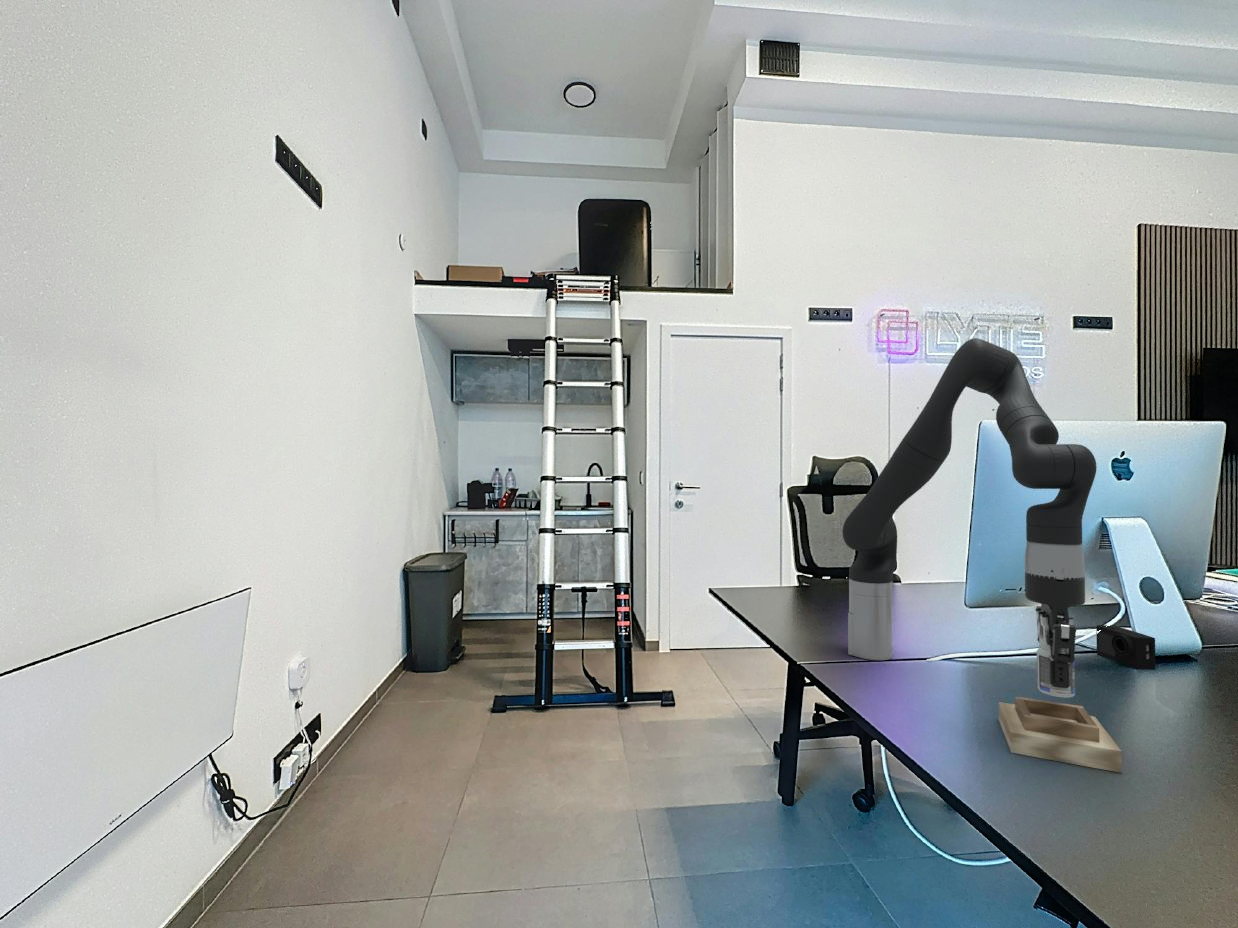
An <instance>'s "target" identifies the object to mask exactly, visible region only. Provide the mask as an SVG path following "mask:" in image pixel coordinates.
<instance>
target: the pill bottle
mask: <svg viewBox="0 0 1238 928" xmlns="http://www.w3.org/2000/svg"><path fill="white" fill-rule="evenodd" d="M1050 639H1051V640H1053V639H1052V638H1050ZM1038 643H1039V648H1037V650H1036V685H1037V690H1038V691H1039V692H1041V693H1043V694H1045V695H1047V696H1051V697H1058V698H1065V699H1066V698H1073V697H1075V695H1076V683H1075V682H1076V678H1075V675H1076V673H1075V671H1076V670H1075V662H1074V663H1071V664H1069V687H1068V688H1059V687H1054V686H1052V685H1051V683H1050V659H1049V647H1048V646H1047V645H1045V643H1044V636H1040V637H1039V642H1038ZM1040 646H1041V648H1040ZM1058 653H1063V654H1065V652H1064V648H1059V649H1058Z"/></svg>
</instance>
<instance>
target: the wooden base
mask: <svg viewBox="0 0 1238 928" xmlns="http://www.w3.org/2000/svg"><path fill="white" fill-rule="evenodd" d="M998 721H999V722H998V723H999V724H1000V727H1001V730H1002V732H1003V734H1004V737H1005V740H1006V742H1007V745H1008V747H1009V751H1010V753H1011V754H1017V755H1023V756H1028V757H1033V758H1039V759H1044V760H1050V761H1056V762H1062V763H1066V764H1071V765H1078V766H1082V767H1088V768H1094V769H1100V770H1103V771H1104V770H1105V771H1108V772H1109V771H1111V772H1115V773H1120V774H1122V773H1123V766H1122V765H1123V762H1122V760H1123V759H1122V758H1123V757H1122V756H1123V755H1122V750H1121V748H1120V747H1119V746H1118V745H1117V744H1116V742H1115V740H1114V739H1113V738H1112V737H1111V736H1110V734H1109V733H1108V732H1107V731H1106V729H1105V728H1104V727H1103V725H1102V724H1101V723H1100V722H1099V720H1098V719H1097V718H1096V716H1092V715H1089V713H1088V711H1087V710H1086V709H1085V707H1084V706H1083V705H1077V704H1069V703H1062V702H1055V701H1051V700H1050V701H1049V700H1041V699H1035V698H1027V697H1022V696H1014V703H1007V702H1000V701H998Z"/></svg>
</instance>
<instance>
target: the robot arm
mask: <svg viewBox="0 0 1238 928" xmlns="http://www.w3.org/2000/svg"><path fill="white" fill-rule="evenodd" d="M966 388H969V389H972V390H973V391H976V392H977V393H981V394H987V395H989V396H990V397H991V398H993V400H994V401H996V402H997V403H998V404H999V405H998V407H997V409H996V412H995V413H996V414H995V421H996V424H997V427H998V429H999V432H1001V434H1002V436H1003V437H1004V440H1006V443H1007V444H1008V446H1009V450H1010V457H1011V470H1012V475H1013V478H1014V480H1015V481H1016V482H1017V483H1018V484H1019V485H1021V486H1023V487H1025V488H1028V489H1033V490H1058V493H1057V495H1056V496H1055V498H1054V499H1053V500H1051V501H1049V502H1045V503H1040V504H1034V505H1031V506H1029V507H1028V508H1027V510H1026V516H1025V521H1026V522H1025V525H1026V526H1025V527H1026V528H1025V529H1026V530H1025V532H1026V533H1025V534H1026V538H1025V539H1026V543H1025V551H1024V594H1025V595H1024V596H1025V599H1027V600H1029V601H1030V602H1033V603H1037V604H1040V606H1039V605H1037V606H1036V608H1035V612H1036V625H1037V626H1036V627H1037V641H1038V643H1039V637H1040V636H1044V643H1045V645H1047V646H1048V647H1049V659H1050V683H1051V685H1052V686H1054V687H1059V688H1068V687H1069V664H1071V663H1075V652H1076V650H1075V649H1076V633H1077V628H1076V626H1075V624H1074V623H1075V622H1074V617H1072V616H1070V614H1069V608H1070V607H1082V606H1083V605H1084V604H1085V603H1086V574H1085V573H1086V572H1085V571H1086V567H1085V554H1084V553H1085V552H1084V549H1083V516H1084V512H1085V509H1086V507H1087V502H1088V499H1089V495H1090V494H1091V493H1090V492H1091V490H1092V486H1093V484H1094V482H1095V478H1096V475H1097V468H1098V467H1097V460H1096V458H1095V455H1094V454H1093V452H1092V451H1091V450H1090V449H1089V448H1088V447H1087V446H1086V445H1085V446H1084V445H1082V444H1076V443H1058V441H1059V438H1060V435H1059V430H1058V428H1057V426H1056V425H1055V424H1054V422H1053V421H1052V420H1051V418H1050V417H1049V416H1048V414H1047V413H1046V412H1045V410H1044V409H1043V407H1042V405H1040V404H1039V402H1038V400H1037V399H1036V397H1035V395H1034V393H1033V390H1032V388H1031V386H1030V383H1029V380H1028V378H1027V376H1026V372H1025V369H1024V367H1023V364H1022V361H1020V359H1019V357H1018V355H1016V353H1014V352H1012V351H1011V350H1008V349H1007V348H1004V347H1002V346H1000V345H997V344H995V343H992V342H989V341H987V340H985V339H984V340H983V339H981V338H978V337H977V338H976V337H975V338H971V339H970V338H969V339H968V340H966V341H965V342H964V343H963V344H962V345H960V347H959V348H958V349H957V350H956V351H955V353H954V354H953V356H952V357H951V359H950V361H949V362H948V363H947V366H946V368H945V369H944V371H943V372H942V375H941V376H940V378H939V381H938V383H937V384H936V386H935V388H934V389H933V391H932V393H931V395H930V397H929V399H928V401H926V404H925V406H924V407H923V408H922V410H921V412H920V413H919V415H918V416H917V418H916V419H915V421H914V422H913V423H912V425H911V427H910V428H909V430H908V431H907V432H906V433H905V434H904V436H903V437H902V439H901V441H900V442H899V444H898V445H897V447H896V449H895V450H894V452H892V455H891V457H890V459H889V460H888V462H886V464H885V466H884V468H883V469H882V471H881V472H880V473H879V475H878V476H877V478H876V480H875V481H874V483H873V485H872V486H871V488H870V489H869V490H868V492H867V493H866V494H865V495H864V497H863V498H862V499H861V500H860V502H859V503H858V504H857V505H856V506H855V507H854V509H853V510H851V512H850V513H849V515H848V516H847V518H846V519H845V521H844V523H843V526H842V530H841V531H842V538H843V541H844V543H845V545H846V546H847V547H848V548H849V549H851V550H853V551H856V552H858V553H857V557H856V559H855V561H854V562H853V563H852V564H851V565H850V567H849V570H848V571H849V572H848V573H849V574H848V590H849V591H848V599H849V600H848V608H849V609H848V613H847V615H848V616H847V620H848V621H847V636H848V637H847V639H848V640H847V645H848V646H847V647H848V648H847V649H848V650H847V653H848V655H849V656H854V657H857V658H860V659H864V660H871V661H887V660H892V659H893V655H894V653H893V650H894V649H893V648H894V646H893V645H894V644H893V638H894V636H893V633H894V631H893V627H894V626H893V622H894V621H893V619H894V618H893V616H894V615H893V613H894V612H893V610H894V609H893V575H894V572H895V570H896V566H897V555H898V554H897V553H898V531H897V530H898V529H897V525H896V522H895V520H894V519H893V516H894V514H895V513H896V512H897V510H898V509H899V508H900V507H901V506H902V504H904V503H905V502H906V501H907V500H909V498H912V496H913V495H915V494H916V493H917V492H918V491H920V490H921V489H922V488H923V487H924V486H925V485H927V483H928V482H929V481H930V480H931V479H932V478H933V477H934V476H935V475H936V473H937V472H938V471H939V469H940V467H941V466H942V465H943V464H944V462H945V461H946V459H948V458H947V457H948V456H949V454H950V452H951V448H952V441H953V439H952V438H953V436H952V434H953V431H952V430H953V428H952V427H953V426H952V425H953V412H954V409H955V406H956V404H957V402H958V400H959V398H960V396H961V395H962V393H963V392H964V390H965V389H966ZM1050 638H1052V639H1053V640H1051V639H1050ZM1039 648H1041V646H1040V645H1039ZM1059 648H1064V652H1065V654H1063V653H1058V649H1059Z"/></svg>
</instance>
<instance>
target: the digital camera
mask: <svg viewBox="0 0 1238 928" xmlns="http://www.w3.org/2000/svg"><path fill="white" fill-rule="evenodd" d="M1107 625H1108V624H1103V625H1102V624H1097V625H1096V629H1095V630H1096V632H1095V633H1096V656H1097V655H1098V656H1100V657H1102V658H1105V659H1107V660H1110V661H1112V662H1115V663H1118V664H1120V665H1124V666H1126V667H1129V668H1131V669H1134V670H1136V671H1137V670H1149V671H1150V670H1152V671H1154V670H1156V638H1155V637H1153V636H1150V635H1148V634H1144V633H1140V632H1137V631H1134V630H1131V629H1127V628H1124V627H1122V626H1121V627H1120V626H1118V625H1114V624H1113V625H1112V624H1109V625H1110V626H1107ZM1106 626H1107V627H1106ZM1099 630H1101V631H1100V632H1099V633H1098V634H1097V631H1099Z"/></svg>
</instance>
